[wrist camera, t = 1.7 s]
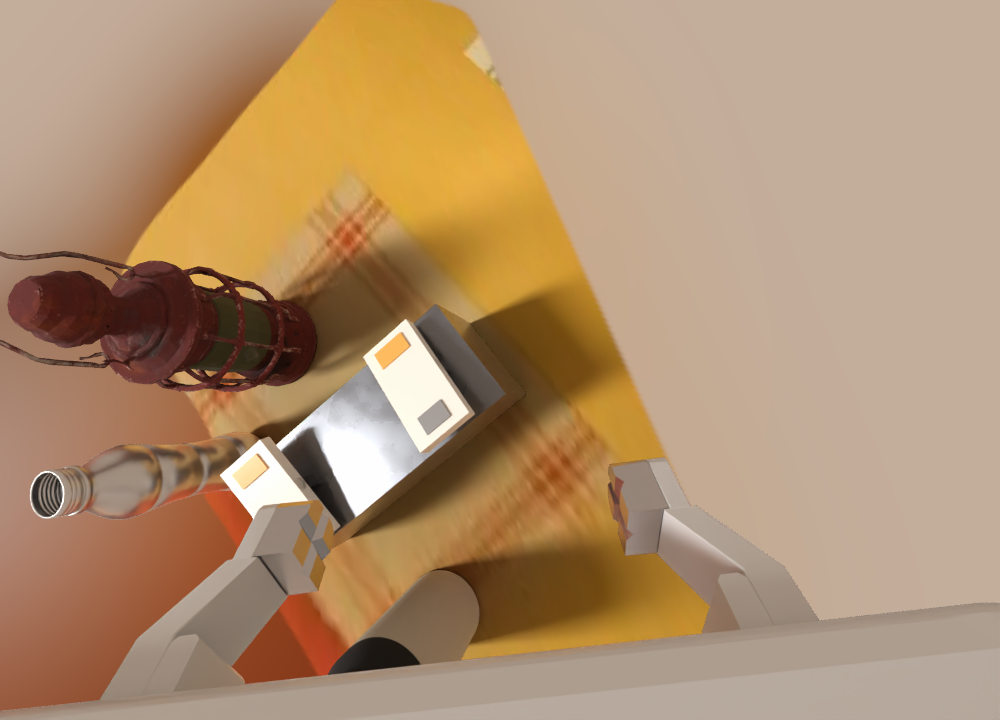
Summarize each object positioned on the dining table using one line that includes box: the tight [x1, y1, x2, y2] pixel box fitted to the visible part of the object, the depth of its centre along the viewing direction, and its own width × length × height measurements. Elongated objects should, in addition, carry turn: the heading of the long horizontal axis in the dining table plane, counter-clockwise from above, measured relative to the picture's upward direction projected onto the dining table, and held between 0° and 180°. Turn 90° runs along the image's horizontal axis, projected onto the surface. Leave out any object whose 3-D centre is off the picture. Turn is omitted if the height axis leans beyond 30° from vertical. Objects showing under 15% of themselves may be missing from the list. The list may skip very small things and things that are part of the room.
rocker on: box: [363, 319, 475, 453], centre depth 35 cm, size 10×5×1 cm, turn 38°
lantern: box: [0, 251, 317, 392], centre depth 38 cm, size 12×12×30 cm
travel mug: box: [328, 570, 479, 675], centre depth 36 cm, size 8×8×18 cm
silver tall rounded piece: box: [30, 432, 261, 519], centre depth 42 cm, size 6×7×20 cm
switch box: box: [253, 304, 526, 549], centre depth 42 cm, size 10×26×11 cm, turn 128°
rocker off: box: [220, 437, 340, 531], centre depth 37 cm, size 10×5×1 cm, turn 38°
